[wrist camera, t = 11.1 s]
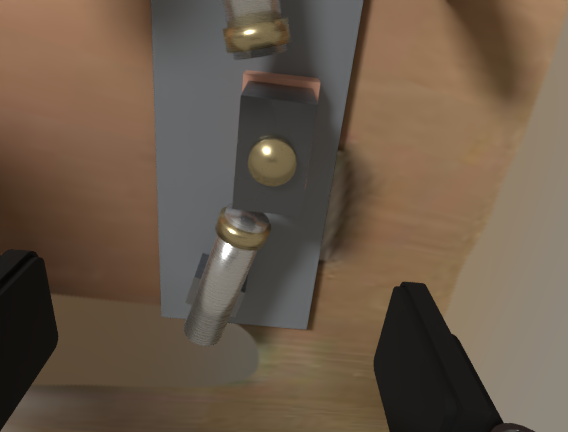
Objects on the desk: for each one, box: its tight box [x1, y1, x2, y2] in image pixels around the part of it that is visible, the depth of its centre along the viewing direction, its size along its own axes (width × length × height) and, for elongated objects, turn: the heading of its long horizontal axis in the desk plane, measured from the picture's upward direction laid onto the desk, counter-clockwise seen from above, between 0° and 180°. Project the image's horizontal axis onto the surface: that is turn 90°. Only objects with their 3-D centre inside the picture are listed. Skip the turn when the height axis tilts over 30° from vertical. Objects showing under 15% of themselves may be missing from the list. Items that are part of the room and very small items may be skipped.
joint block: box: [232, 80, 318, 217], centre depth 24 cm, size 4×6×6 cm, turn 173°
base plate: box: [151, 0, 363, 330], centre depth 28 cm, size 13×36×3 cm, turn 174°
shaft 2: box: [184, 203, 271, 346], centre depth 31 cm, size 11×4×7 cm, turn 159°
